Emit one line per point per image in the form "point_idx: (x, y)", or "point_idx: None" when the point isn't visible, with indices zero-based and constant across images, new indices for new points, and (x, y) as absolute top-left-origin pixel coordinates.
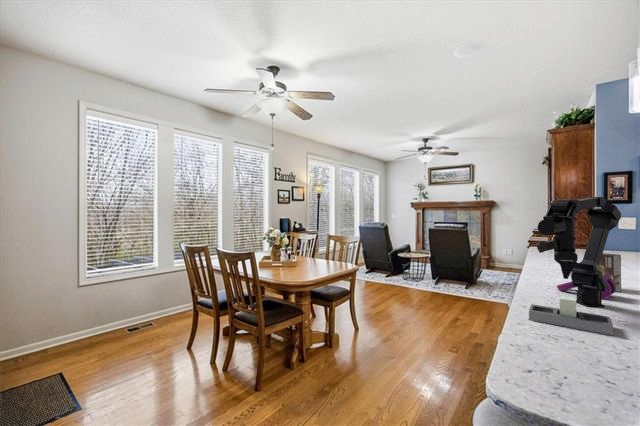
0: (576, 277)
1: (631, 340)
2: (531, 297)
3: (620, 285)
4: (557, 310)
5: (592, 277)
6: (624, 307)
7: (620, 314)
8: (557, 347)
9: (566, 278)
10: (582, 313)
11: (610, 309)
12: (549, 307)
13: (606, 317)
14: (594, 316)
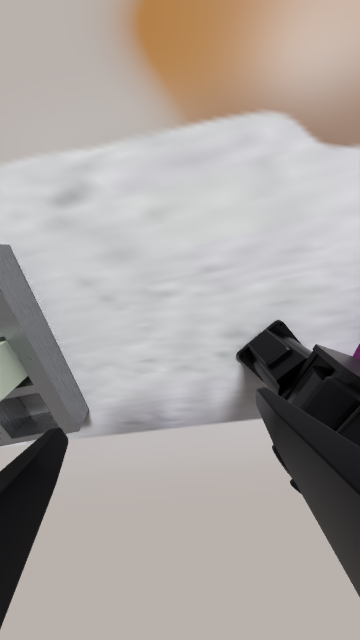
0: (313, 399)
1: (26, 441)
2: (250, 182)
3: None
4: (7, 335)
5: (285, 467)
6: None
7: (215, 407)
8: None
9: (57, 440)
10: (41, 390)
11: (248, 389)
12: (5, 311)
13: (62, 428)
14: (50, 409)
